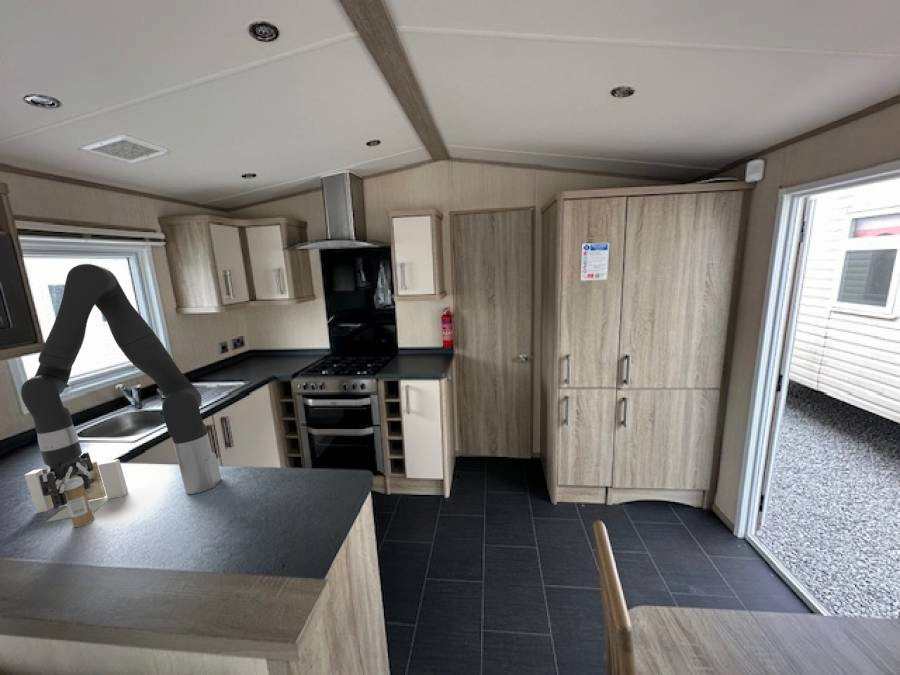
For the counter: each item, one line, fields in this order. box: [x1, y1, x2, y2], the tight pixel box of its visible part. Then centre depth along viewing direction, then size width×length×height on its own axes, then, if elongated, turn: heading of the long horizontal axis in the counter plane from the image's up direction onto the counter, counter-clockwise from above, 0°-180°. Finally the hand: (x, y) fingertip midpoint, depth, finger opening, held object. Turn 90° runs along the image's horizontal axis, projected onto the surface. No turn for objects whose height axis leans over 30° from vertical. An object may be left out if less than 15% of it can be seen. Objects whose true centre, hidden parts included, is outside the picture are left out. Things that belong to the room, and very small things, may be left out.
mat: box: [46, 497, 112, 523], centre depth 116 cm, size 12×8×1 cm, turn 101°
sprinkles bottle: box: [63, 477, 95, 528], centre depth 107 cm, size 5×5×13 cm
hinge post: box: [24, 468, 54, 514], centre depth 117 cm, size 3×3×13 cm
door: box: [42, 461, 107, 509], centre depth 118 cm, size 14×2×13 cm, turn 101°
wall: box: [97, 458, 129, 499], centre depth 121 cm, size 5×2×12 cm, turn 101°
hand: (74, 496), depth 107 cm, fingers open, 8 cm apart
